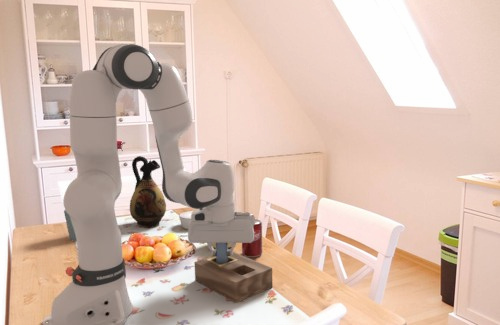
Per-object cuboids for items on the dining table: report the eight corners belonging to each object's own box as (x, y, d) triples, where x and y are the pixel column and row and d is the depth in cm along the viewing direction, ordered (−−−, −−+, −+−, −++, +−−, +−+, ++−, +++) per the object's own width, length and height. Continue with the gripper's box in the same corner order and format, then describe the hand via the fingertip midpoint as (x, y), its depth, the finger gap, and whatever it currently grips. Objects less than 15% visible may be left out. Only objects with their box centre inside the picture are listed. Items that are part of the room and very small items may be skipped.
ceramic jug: (172, 220, 203) (169, 154, 198) (158, 231, 188) (153, 160, 183) (137, 218, 207) (133, 153, 202) (121, 229, 192) (115, 159, 187)
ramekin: (204, 230, 188) (204, 218, 188) (177, 230, 189) (177, 218, 188) (207, 222, 200) (206, 210, 199) (182, 222, 200) (181, 210, 199)
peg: (222, 274, 138) (221, 243, 137) (214, 271, 141) (213, 240, 139) (230, 270, 141) (229, 240, 139) (222, 267, 143) (221, 237, 142)
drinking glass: (96, 238, 181) (94, 209, 179) (70, 243, 176) (67, 214, 174) (89, 231, 190) (87, 204, 188) (64, 236, 184) (61, 208, 182)
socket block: (236, 302, 126) (235, 281, 124) (195, 280, 140) (194, 261, 139) (272, 287, 135) (272, 267, 133) (230, 267, 149) (230, 249, 148)
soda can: (260, 258, 157) (259, 225, 154) (239, 257, 158) (239, 224, 156) (264, 250, 164) (263, 218, 161) (244, 249, 165) (243, 218, 163)
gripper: (255, 209, 140) (255, 251, 142) (189, 209, 141) (191, 251, 143) (254, 215, 134) (255, 259, 136) (185, 215, 135) (187, 259, 137)
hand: (222, 255), depth 140 cm, fingers closed on peg, 3 cm apart
